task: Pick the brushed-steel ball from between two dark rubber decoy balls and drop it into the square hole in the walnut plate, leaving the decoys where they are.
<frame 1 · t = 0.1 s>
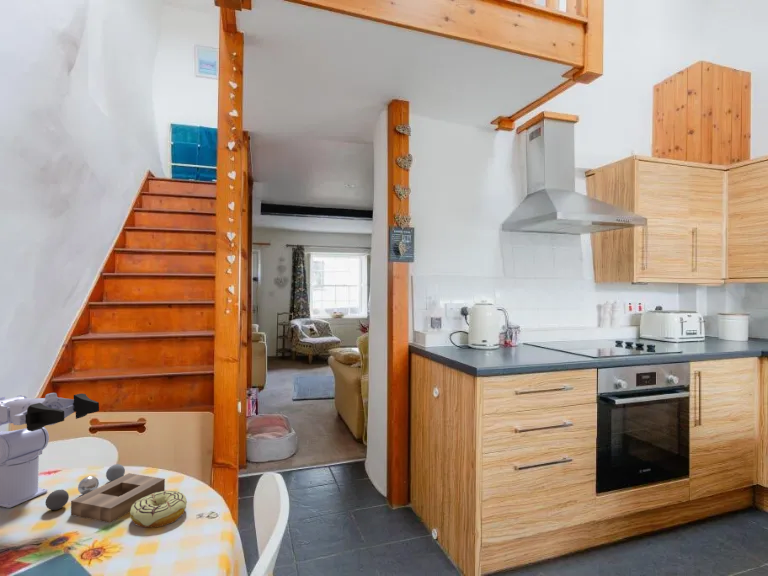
hand: (80, 411, 88), 22 cm above the table, tool horizontal, fingers open, 7 cm apart
steel ball: (88, 485, 95), point 2 cm above the table
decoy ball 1: (57, 499, 88), point 2 cm above the table
hole plate: (120, 502, 91), on the table
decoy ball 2: (115, 472, 102), point 2 cm above the table
decorated donut: (159, 518, 86), on the table
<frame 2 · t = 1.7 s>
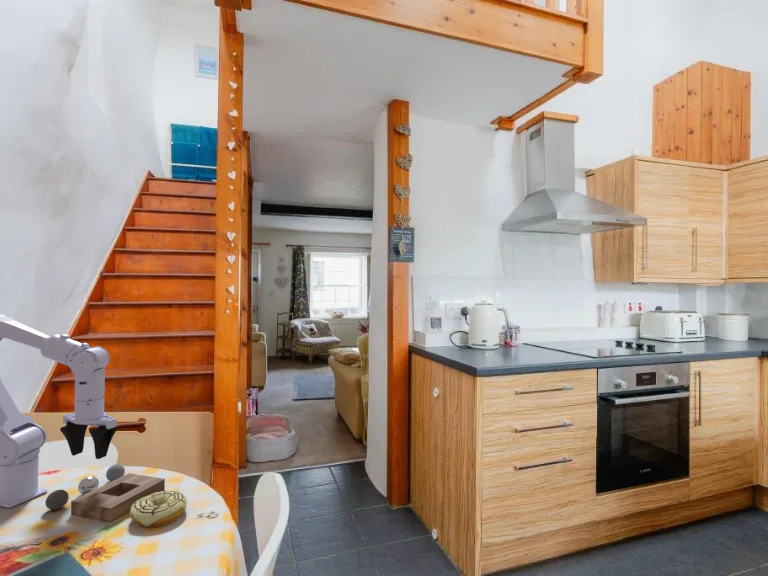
hand: (89, 455, 95), 9 cm above the table, tool pointing down, fingers open, 7 cm apart
nothing on the table moved.
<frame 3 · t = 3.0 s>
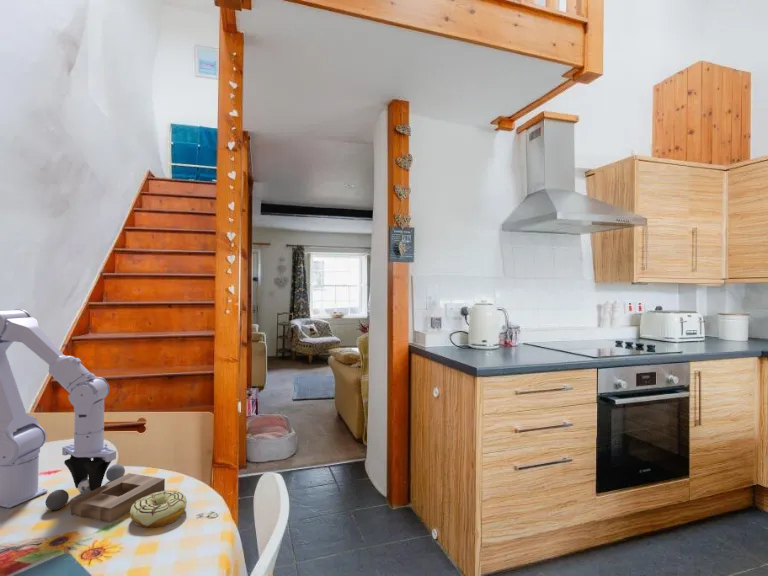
hand: (88, 487, 95), 1 cm above the table, tool pointing down, fingers closed on steel ball, 4 cm apart
steel ball: (88, 485, 95), point 2 cm above the table, touching gripper
everything else where it was.
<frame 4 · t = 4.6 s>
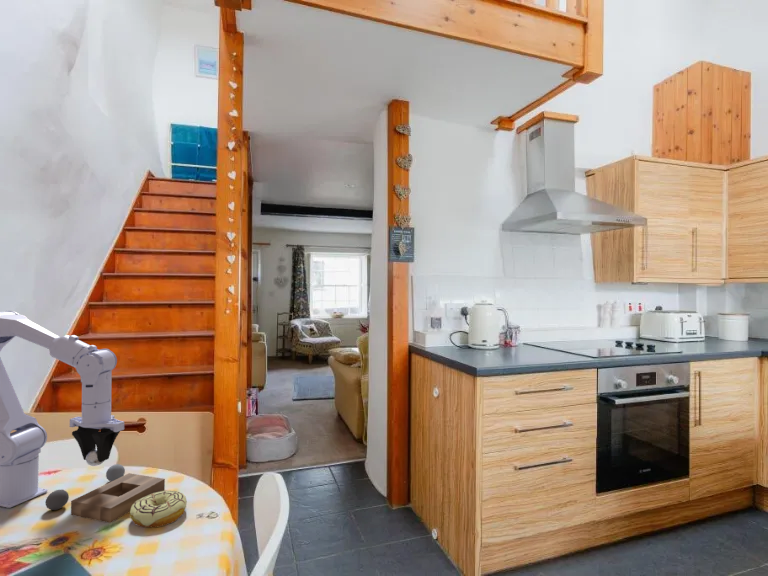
hand: (96, 459, 94), 9 cm above the table, tool pointing down, fingers closed on steel ball, 4 cm apart
steel ball: (96, 456, 94), point 9 cm above the table, touching gripper
everything else where it was.
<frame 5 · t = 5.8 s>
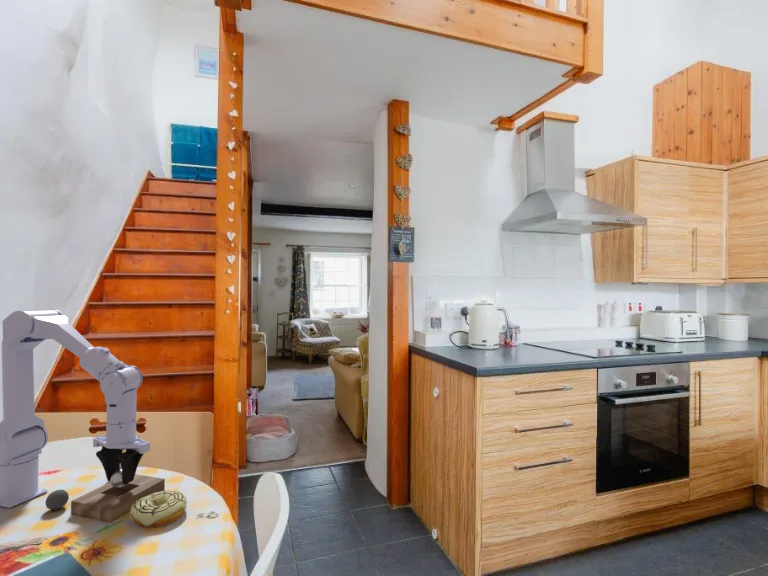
hand: (120, 480, 91), 5 cm above the table, tool pointing down, fingers closed on steel ball, 4 cm apart
steel ball: (120, 478, 91), point 6 cm above the table, touching gripper
everything else where it was.
when the fingers open (5 cm above the table, at t = 6.5 s): steel ball drops 4 cm, point 2 cm above the table.
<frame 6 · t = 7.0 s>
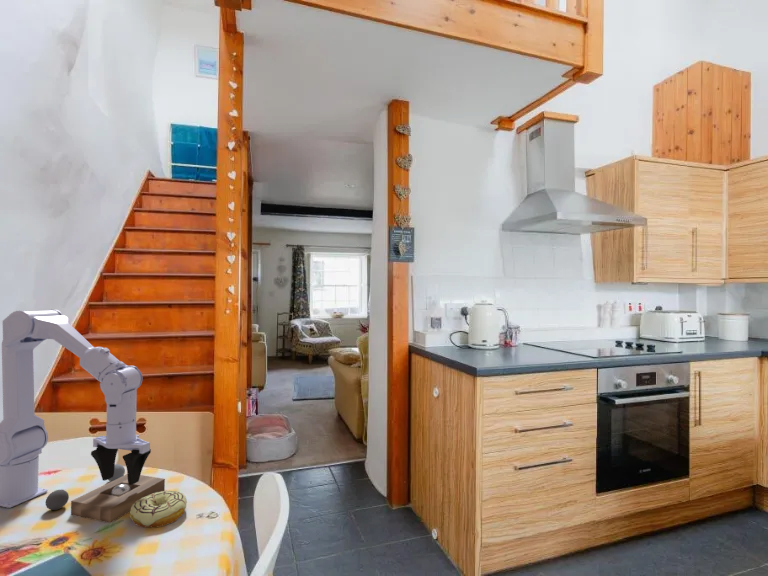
hand: (120, 480, 91), 5 cm above the table, tool pointing down, fingers open, 7 cm apart
steel ball: (120, 493, 91), point 2 cm above the table
everything else where it was.
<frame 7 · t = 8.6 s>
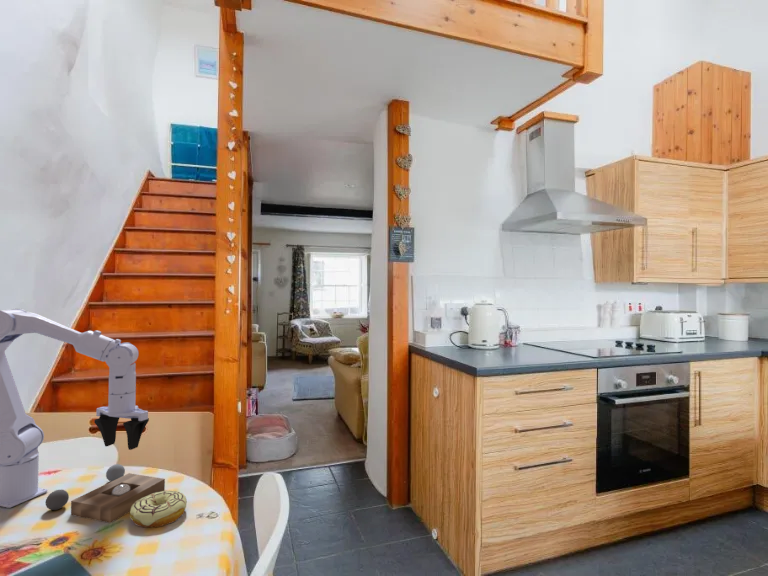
hand: (121, 446, 100), 9 cm above the table, tool pointing down, fingers open, 7 cm apart
nothing on the table moved.
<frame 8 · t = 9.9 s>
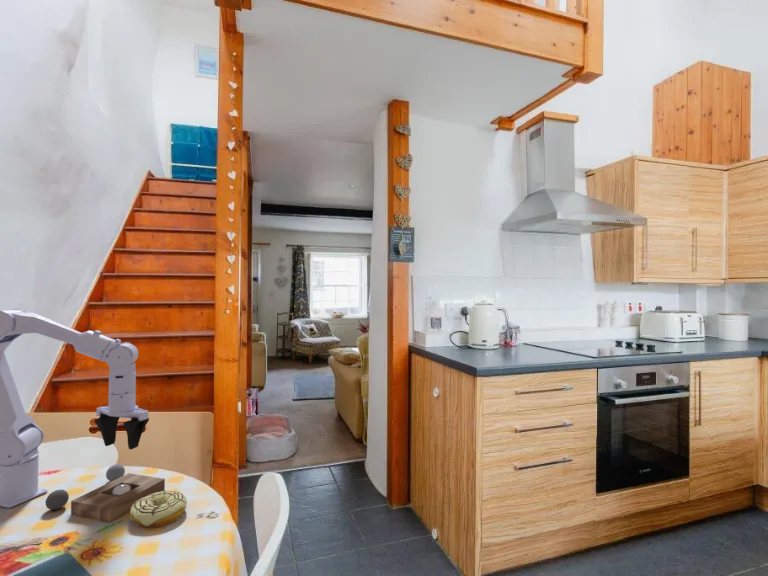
hand: (121, 446, 100), 9 cm above the table, tool pointing down, fingers open, 7 cm apart
nothing on the table moved.
at the end: steel ball 0.2 cm off-centre on the hole plate, point 2.0 cm above the hole plate's base; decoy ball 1 moved 0.0 cm from its start; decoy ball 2 moved 0.0 cm from its start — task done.
